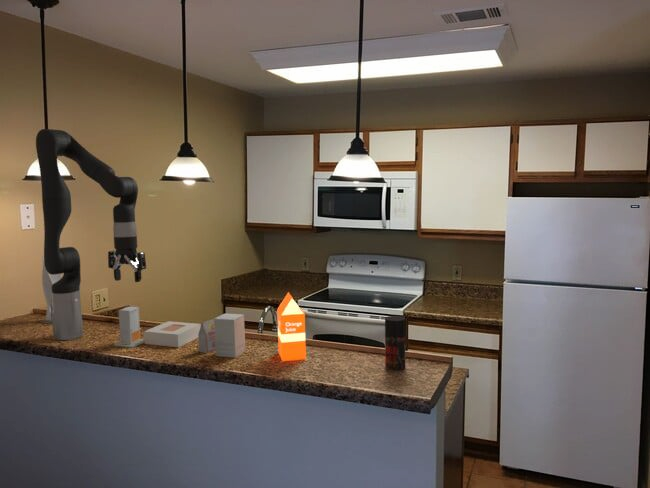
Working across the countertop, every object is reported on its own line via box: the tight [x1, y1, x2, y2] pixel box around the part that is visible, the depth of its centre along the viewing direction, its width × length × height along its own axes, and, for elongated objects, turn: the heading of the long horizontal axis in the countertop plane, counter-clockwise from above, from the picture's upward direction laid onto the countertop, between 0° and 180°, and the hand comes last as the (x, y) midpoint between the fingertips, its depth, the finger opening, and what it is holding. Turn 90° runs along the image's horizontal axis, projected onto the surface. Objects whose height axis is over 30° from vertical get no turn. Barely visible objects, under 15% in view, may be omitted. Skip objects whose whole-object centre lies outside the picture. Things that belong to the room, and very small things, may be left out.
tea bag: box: [197, 318, 216, 354], centre depth 181 cm, size 4×7×10 cm, turn 146°
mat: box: [113, 338, 145, 348], centre depth 190 cm, size 8×8×1 cm
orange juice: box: [276, 291, 307, 362], centre depth 172 cm, size 8×9×20 cm
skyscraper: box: [41, 253, 63, 325], centre depth 223 cm, size 8×8×28 cm
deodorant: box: [384, 315, 406, 372], centre depth 160 cm, size 6×6×15 cm
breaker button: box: [163, 325, 184, 331], centre depth 193 cm, size 5×7×4 cm
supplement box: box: [213, 312, 247, 359], centre depth 176 cm, size 7×7×13 cm
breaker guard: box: [143, 320, 201, 348], centre depth 193 cm, size 14×14×4 cm
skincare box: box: [118, 306, 141, 344], centre depth 190 cm, size 6×4×12 cm
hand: (127, 281), depth 189 cm, fingers open, 8 cm apart
